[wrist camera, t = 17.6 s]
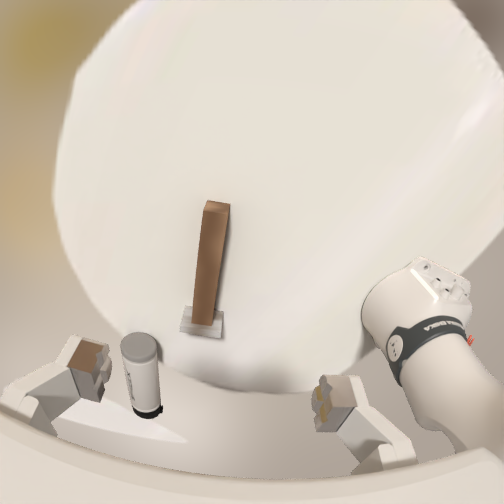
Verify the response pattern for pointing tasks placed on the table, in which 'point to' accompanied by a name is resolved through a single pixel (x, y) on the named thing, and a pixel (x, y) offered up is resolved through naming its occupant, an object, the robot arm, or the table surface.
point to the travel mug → (142, 374)
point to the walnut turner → (207, 274)
